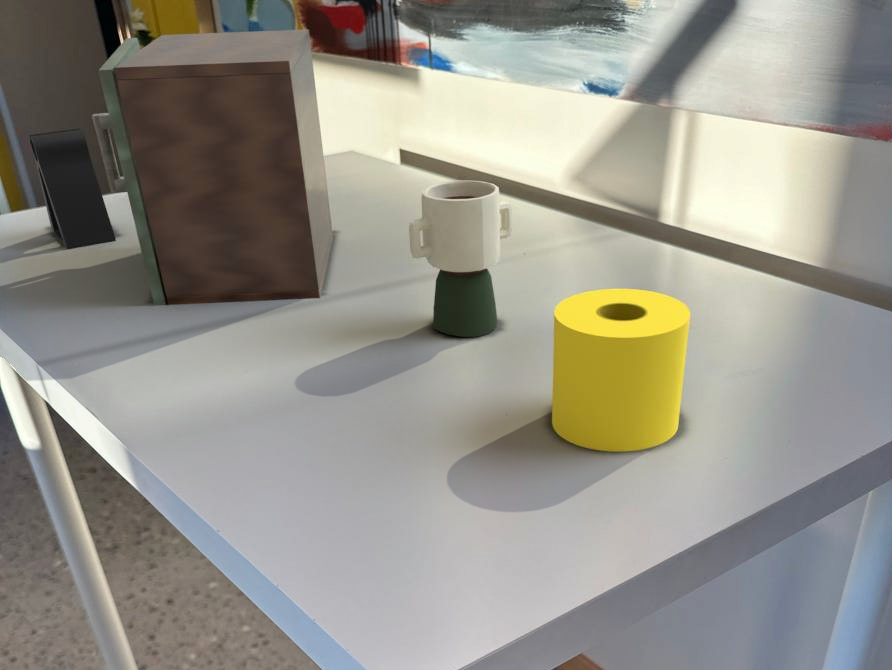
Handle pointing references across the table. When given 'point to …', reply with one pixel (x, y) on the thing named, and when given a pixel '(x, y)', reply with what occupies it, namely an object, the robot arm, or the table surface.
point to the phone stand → (71, 189)
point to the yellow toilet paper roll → (618, 368)
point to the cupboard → (230, 164)
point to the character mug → (462, 252)
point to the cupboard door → (126, 163)
